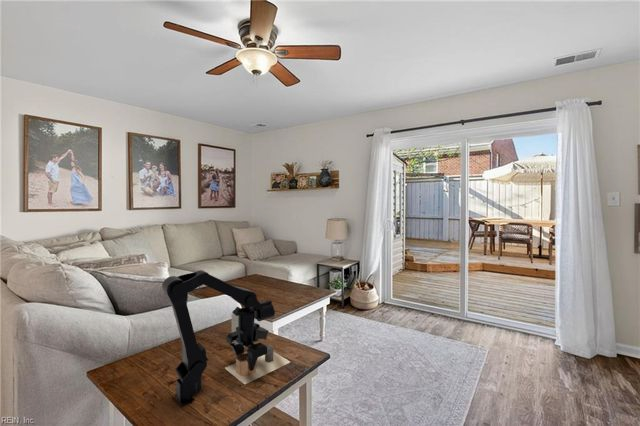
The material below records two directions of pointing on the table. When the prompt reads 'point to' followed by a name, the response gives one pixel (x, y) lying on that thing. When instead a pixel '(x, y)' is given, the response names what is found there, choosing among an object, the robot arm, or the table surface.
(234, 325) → the cup
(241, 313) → the robot arm
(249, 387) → the table surface
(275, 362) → the duct base
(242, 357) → the sleeve
